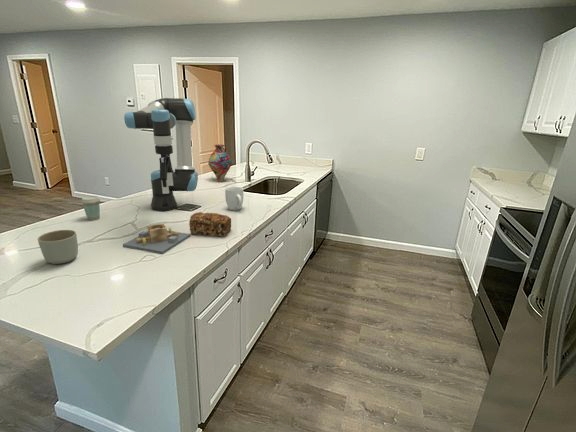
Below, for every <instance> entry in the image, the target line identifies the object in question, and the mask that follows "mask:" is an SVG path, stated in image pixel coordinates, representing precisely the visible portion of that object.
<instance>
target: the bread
mask: <svg viewBox="0 0 576 432" xmlns="http://www.w3.org/2000/svg"><path fill="white" fill-rule="evenodd" d="M188 222H189V223H188V225H189V231H190V234H192V235H195V234H196V235H199V236H208V237H222V238H223V237H226V236H228V234H229V233H230V232H231V228H232V219H231V217H230V216H228V215H226V214H225V215H224V214H220V213H215V212H202V211H200V212H195V213H193V214H192V215H190V218H189V221H188Z"/></svg>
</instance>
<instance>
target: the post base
mask: <svg viewBox="0 0 576 432" xmlns="http://www.w3.org/2000/svg"><path fill="white" fill-rule="evenodd" d="M154 229H159V228H154ZM172 232H176V231H173V230H172V227H168V229H167V233H172ZM177 232H178V235H179V236H178V237H176V236H171V237H169V238H168V240H166V241H161V242H155V243H151V241H150V242H146V239H145V238H143V243H137V239H136V238H142V237H148V236H149V235H148V231H146V230H145V231H144V230H143V231H141V232H138V236H137V237H134V238H133V239H131V240H128V241H126V242H125V243H122V247H123V248H128V249H133V250H139V251H144V252H150V253H154V254H155V253H156V254H161V255H164V254H166V253H167V252H168V251H170V250H171V249H173V248H175V247H177V246H178V245H180V244H181V243H182V242H184V241H185V240H187V239H189V238H191V234H192V233H186V232H180V231H177Z"/></svg>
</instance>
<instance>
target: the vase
mask: <svg viewBox="0 0 576 432" xmlns="http://www.w3.org/2000/svg"><path fill="white" fill-rule="evenodd" d="M214 147H215V149H214V151H212V153H211V154H210V156H209V157H208V160H207V161H208V162H207V163H208V166H209V168H210V170H211V171H212V172H213V174H214V175H215V177H216V180H215V182H216V183H225V182H226V179H225V178H226V175H227V174H228V173H229V171H230V168H231V166H232V164H233V163H232V159H231V156H230V154H229V153H227V152H226V150H224V147H225V144H214Z"/></svg>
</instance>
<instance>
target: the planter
mask: <svg viewBox="0 0 576 432" xmlns="http://www.w3.org/2000/svg"><path fill="white" fill-rule="evenodd" d="M37 237H38V238H37V242H38V246H39V249H40V251H41V254H42V256H43V258H44V260H45V261H46V262H47V263H49V264H53V265H63V264H66V263H69V262H72V261H73V260H74V259H75V258H76V257H77V255H78V253H79V246H78V245H79V244H78V236H77V232H76V231H75V230H73V229H58V230H53V231H49V232H46V233H43V234H40V236H37Z"/></svg>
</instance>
